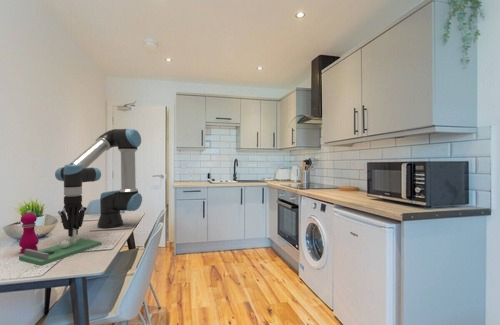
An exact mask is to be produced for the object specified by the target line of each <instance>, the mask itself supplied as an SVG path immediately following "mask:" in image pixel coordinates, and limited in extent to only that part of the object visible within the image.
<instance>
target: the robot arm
mask: <svg viewBox="0 0 500 325" xmlns="http://www.w3.org/2000/svg"><path fill="white" fill-rule="evenodd" d="M141 143H142V137H141V134H140V133H139V131H138V130H136V129H135V128H114V129H110V130H108V131H105V133H102V134H101V135H99V136H98V137H97V138H96V139H95V142H94V143H92V144H91V145H90V146H89V147H88V148H87V149H85V150H84V151H83V152H82V153H81V154H79V155H78V156H77V157H76V158H75V159H73V161H72V162H70V163H68V164H66V165H65V164H64V165H63V167H58V168H57V169H56V170H55V173H54V176H55V178H56V180H57V181H59V182H63V195H64V196H63V204H64V206H63V207H62V209H61V210H59V211H57V214H58V215H59V216H60V220H61V223H62V227H63V230H67V231H68V232H67V235H68V237H69V242H70V243H75V242H76V240H77V236H78V234H79V229H80V227H81V228H82V226H83V222H84V218H85V214H86V211H87V209H88V208H87V206H83V204H82V202H83V195H82V194H83V183H90V182H92V183H93V182H94V183H95V182H97V181H99V180H100V179H101V177H102V171H101V170H100V169H99V168H98V167H89V166H91V164H92V163H94V162H95V161H96V160H97V159H99V157H100V156H101V155H102V154H103V153H104V152H106V151H109V150H110V149H112V148H116V147H117V150H118V151H119V152H120V185H121V186H120V187H121V188H120V189H119V190H110V191H105V192H101V194H100V198H99V200H100V202H99V204H100V215H99V218H98V222H97V228H99V229H112V228H118V227H121V226H123V225H124V220H123V218H122V214H121V211H124V212H126V211H127V212H134V211H137V210H138V209H139V208H140V207H141V205H142V202H143V196H142V194H141V193H139V189H138V188H137V187H136V185H137V184H136V152H137V151H138V148H139V147H140V146H141Z"/></svg>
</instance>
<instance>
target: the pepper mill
mask: <svg viewBox="0 0 500 325" xmlns="http://www.w3.org/2000/svg"><path fill="white" fill-rule="evenodd" d="M37 220H38V216H37V215H36V214H35V213H32V211H31V210H30V209H29V210H27V211H26V214H22V215H21V216H20V223H22V224H21V228H23V231H22V235H21V236H20V240H19V242H18V246H19V247H20V253H21V254H22V255H25V249H31V250H35V251H38V244H39V242H40V240H39V237H38V236H37V233H36V231H35V227H36V221H37Z"/></svg>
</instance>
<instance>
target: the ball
mask: <svg viewBox="0 0 500 325" xmlns="http://www.w3.org/2000/svg"><path fill="white" fill-rule="evenodd" d="M59 243H60V247H61V248H67V247H68V246H69V245H70V240H68V239H63V240H61V241H60V242H59Z"/></svg>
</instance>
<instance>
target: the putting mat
mask: <svg viewBox="0 0 500 325" xmlns="http://www.w3.org/2000/svg"><path fill="white" fill-rule="evenodd" d="M98 245H100V246H102V241H98V240H91V239H87V238H76V242H75V243H70V245H69V246H68V247H67V248H61V247H60V244H57V245H56V244H55V245H52V246H50V247H46V248H42V249H39V250H37V251H35V250H31V249H25V254H22V255H18V260H19V261H21V262H27V263H29V262H30V263H29V264H33V263H34V264H35V265H37V264H38V265H37V266H43V265H48V264H50V263H52V262H55V261H58V260H61V259H64V258H68V257H71V256H73V255H76V254H79V253H81V252H85V251H88V250H91V249H94V248H96V247H95V246H97V247H99V246H98ZM93 247H94V248H93ZM90 248H91V249H90ZM87 249H88V250H87Z"/></svg>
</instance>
